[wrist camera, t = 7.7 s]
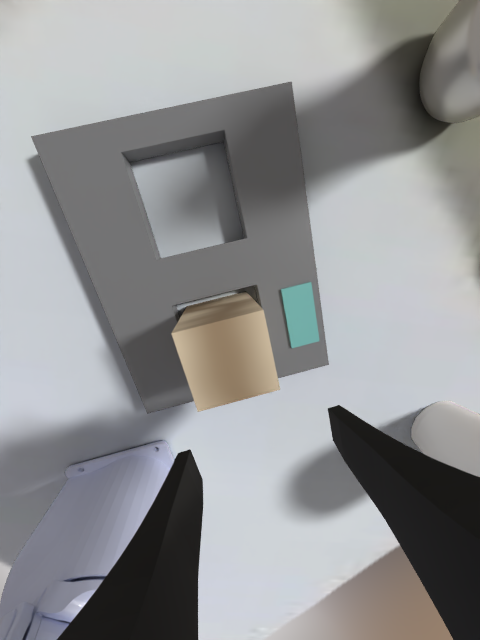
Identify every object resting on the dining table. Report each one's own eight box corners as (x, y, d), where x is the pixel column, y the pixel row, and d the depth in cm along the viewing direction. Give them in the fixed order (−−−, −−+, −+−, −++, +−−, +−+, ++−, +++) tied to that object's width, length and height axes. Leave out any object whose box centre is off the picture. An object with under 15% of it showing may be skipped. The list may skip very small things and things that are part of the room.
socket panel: (152, 402, 20) (146, 415, 19) (49, 148, 15) (28, 134, 13) (320, 357, 21) (329, 365, 19) (284, 97, 15) (292, 79, 14)
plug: (203, 359, 20) (198, 411, 13) (186, 306, 18) (171, 333, 12) (258, 345, 20) (280, 389, 13) (245, 291, 19) (263, 310, 12)
